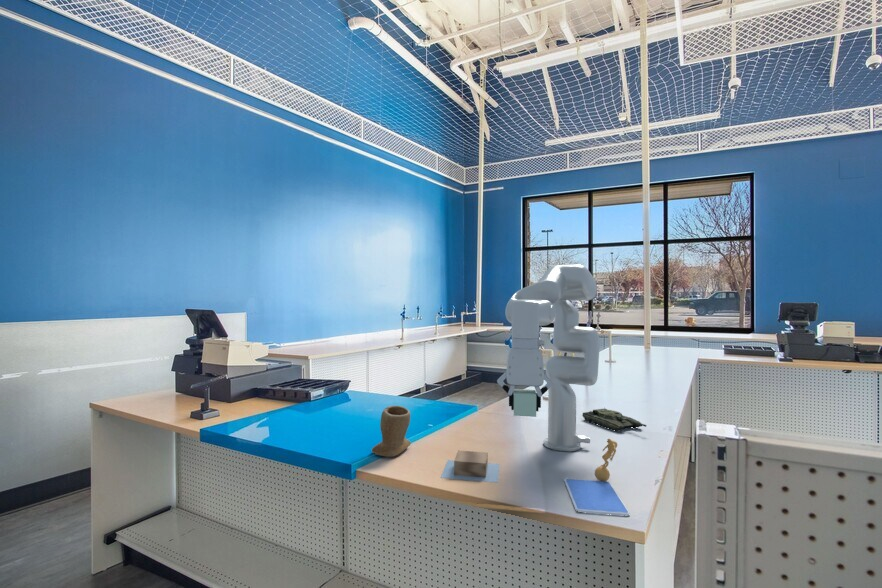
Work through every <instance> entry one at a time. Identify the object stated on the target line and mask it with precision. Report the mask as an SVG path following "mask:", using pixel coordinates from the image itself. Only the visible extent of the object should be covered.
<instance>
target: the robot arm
mask: <svg viewBox="0 0 882 588" xmlns="http://www.w3.org/2000/svg"><path fill="white" fill-rule="evenodd" d="M597 289H598V287H597V282H596V279H595V278H594V275H593V274H592V273H591V271H590V270H589V269H588V268H587V267H586V266H584V265H583V264H582V265H581V264H557V265H552V266H550V267H549V268H547V270H546V271H545V272H544V274H543V275H542V276H541V278H540V279H539V281H538V282H535V283H533V284H530V285H528V286H525V287H523V288H521V289H519V290H517V291H516V292H515V293H513V294H512V296H511V297H510V298H509V300H508V302H507V304H506V306H505V311H504V312H505V313H504V314H505V318H506V320H507V321H508V322H509V323H510V324H511V348H508V352H507V359H506V371H504V373H503V374H502V375H501V376H500V377H499V378H497V380H496V382H497V384H498V385H499V386H500V387H501V388H502V389H503V390H504V391H505V393H506V394H507V395H508V407H511V409H510V410H511V411H514V389H516V387H517V386H518V387H534V390H535V391H536V413H538V412H539V409H540V408H541V407H542V397H543V395H544V394H545V393H546V392H548V393H547V394H548V395H547V396H548V397H547V400H548V401H547V402H548V404H547V405H548V407H547V438H545V439H544V440H543V442H542V443H543V445H544V446H545V447H546V448H548V449H550V450H554V451H559V452H575V451H578V450H580V449H581V443H582V444H583V443H584V444H591V438H590V437H587V436H585V435H579V434H577V395H576V393H575V390H574V389H573V388H572V386H571V385H575V386H576V385H577V386H585V387H586V386H589V387H591V386H593V385H595V384H596V382H597V381H598V378H599V377H598V375H599V360H600V359H599V358H600V342H601V341H600V335H599V332H598V330H597V329H595V328H594V327H591V326H579V322H580V321H579V320H580V313H579V311H578V309H577V308H576V307H575V305H574V304H573V303H572V302H571V301H591V300H593V299H594V298H595V297H596V295H597ZM552 322H553V323H554V324H553V335H552V346H553V349H554V350H555V351H557V352H559V353H560V352H561V353H566V354H567V353H569V354H577V355H579V354H581V355H584V357H583V356H572V355H570V356H569V355H554V356H553V355H552V356H551V357H549V358H548V359H547V360H546V363H545V370H544V358H543V357H544V356H543V351H542V349H540V347H545V340H541V339H540V327H541V326H543V327H544V326H548V325H550V324H552ZM544 371H545V372H544ZM505 380H506V383H507V384H508V385H509V386H508V385H507V384H506V383H505V382H504V381H505ZM544 382H546V383H545V385H544ZM541 386H542V387H541Z"/></svg>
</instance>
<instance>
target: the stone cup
mask: <svg viewBox="0 0 882 588" xmlns="http://www.w3.org/2000/svg"><path fill="white" fill-rule="evenodd" d="M380 416H381V417H380V427H379V428H380V432H381V440H382V441H380V442H378V443H377V444H375V446H373V447H372V448H371V452H372V453H373V454H374V453H375V455H377V456H381V457H389V458H390V457H396V456H398V455H400V454H401V453H403V452H404V451H405V450H406V449H408V447H409V446H411V444H412V442H411V441H410V439H407V437H406V435H407V432H408V429H409V427H410V423H411V411H410V410H409V409H408V408H406V406H405V407H404V406H401V405H389V406H387V407H385V408H384V409H383V411H382V412H381V415H380Z"/></svg>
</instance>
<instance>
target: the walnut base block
mask: <svg viewBox="0 0 882 588" xmlns="http://www.w3.org/2000/svg"><path fill="white" fill-rule="evenodd" d="M488 457H489V455H488V452H486V451H485V452H483V451H471V450H469V451H468V450H460V449H459V450H457V452H456V455H455V457H454V459H453V460H454V475H458V476H471V477H483V478H486V473H487V467H488V463H489V461H488V460H489V458H488Z"/></svg>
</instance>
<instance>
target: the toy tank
mask: <svg viewBox="0 0 882 588" xmlns="http://www.w3.org/2000/svg"><path fill="white" fill-rule="evenodd" d="M581 416H582V417H583V419H584V420H585V422H587V421H589V422H588V423H590V422H592V423H591V424H593V423H595V424H594V425H596V424H598V425H600V426H599V427H601V426H603V427H602V428H604V427H606V428H605V429H607V428H609V429H608V430H610V429H612V430H615V431H614V432H618V431H617V430H620V431H621V430H625V429H631V427H633V428H635V429H637V428H636V427H638V428H639V427H645V428H646V427H647V424H644V423H642V422H640V421H639V420H636V419H635V418H633V417H629V416H626V415H623V413H622V412H620V411H616V410H612V409H607V408H597V409H593V410H590V411H586V412H582V415H581ZM598 425H597V426H598ZM612 430H611V431H612Z"/></svg>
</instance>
